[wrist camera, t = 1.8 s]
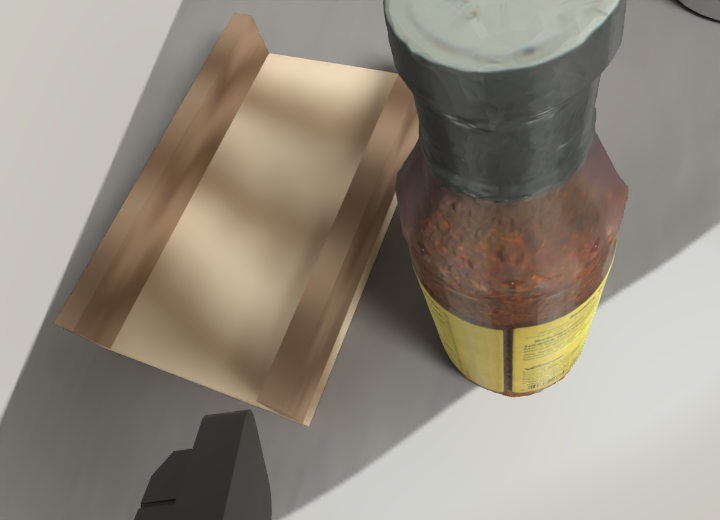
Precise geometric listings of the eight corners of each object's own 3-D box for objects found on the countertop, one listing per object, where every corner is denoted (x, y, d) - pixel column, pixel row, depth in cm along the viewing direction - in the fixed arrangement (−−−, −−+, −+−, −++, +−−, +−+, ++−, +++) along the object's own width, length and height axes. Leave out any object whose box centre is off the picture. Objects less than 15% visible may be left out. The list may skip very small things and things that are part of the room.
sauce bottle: (581, 278, 27) (742, -177, 10) (579, 411, 25) (787, 125, 7) (442, 268, 29) (367, -137, 11) (427, 393, 27) (304, 121, 9)
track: (258, 62, 38) (234, 13, 34) (441, 91, 34) (435, 40, 30) (103, 347, 31) (53, 323, 28) (308, 426, 27) (281, 410, 24)
